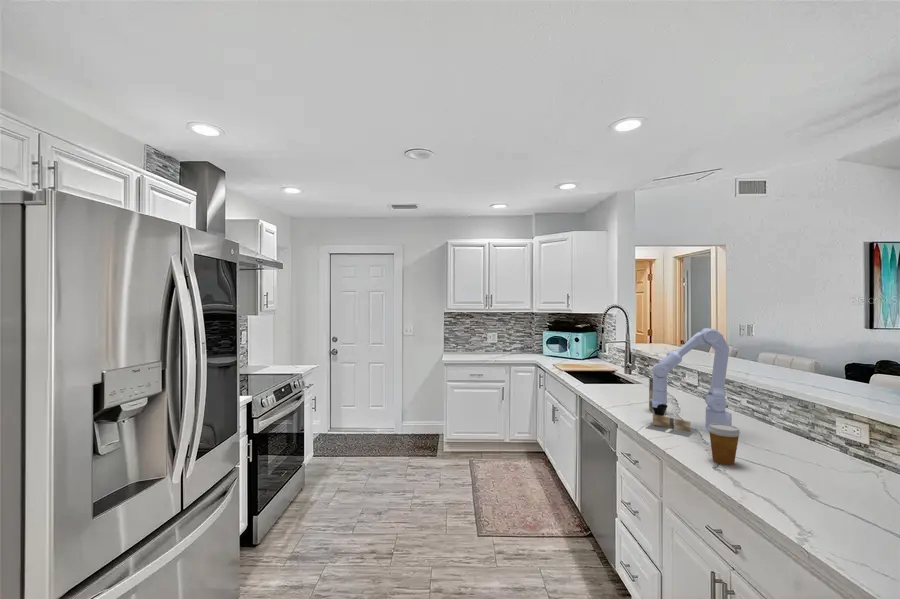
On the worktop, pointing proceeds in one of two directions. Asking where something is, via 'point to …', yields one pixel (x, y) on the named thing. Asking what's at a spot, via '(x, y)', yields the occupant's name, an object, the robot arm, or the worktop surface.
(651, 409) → the coffee box
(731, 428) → the disposable coffee cup
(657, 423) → the hinged panel
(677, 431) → the card
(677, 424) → the block
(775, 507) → the worktop surface
